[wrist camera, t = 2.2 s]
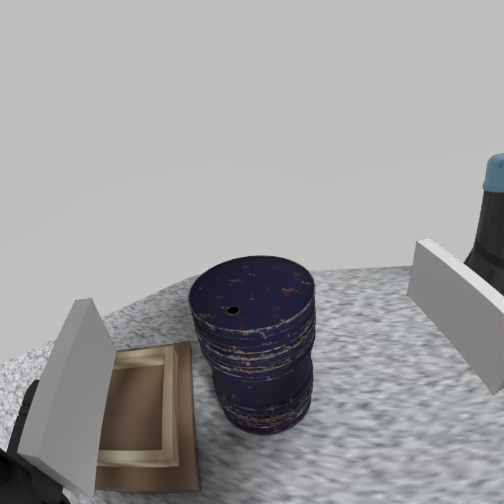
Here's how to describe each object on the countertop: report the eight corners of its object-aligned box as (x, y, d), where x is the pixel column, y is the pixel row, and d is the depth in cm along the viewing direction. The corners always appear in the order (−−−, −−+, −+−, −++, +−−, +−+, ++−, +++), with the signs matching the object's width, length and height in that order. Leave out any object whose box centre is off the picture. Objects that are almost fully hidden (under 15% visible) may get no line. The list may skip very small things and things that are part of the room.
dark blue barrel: (245, 356, 36) (226, 249, 29) (323, 374, 32) (329, 262, 24) (204, 418, 28) (160, 313, 21) (293, 448, 24) (290, 348, 17)
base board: (191, 347, 38) (185, 330, 36) (200, 491, 20) (191, 481, 19) (75, 360, 36) (66, 344, 35) (46, 480, 19) (28, 468, 17)
